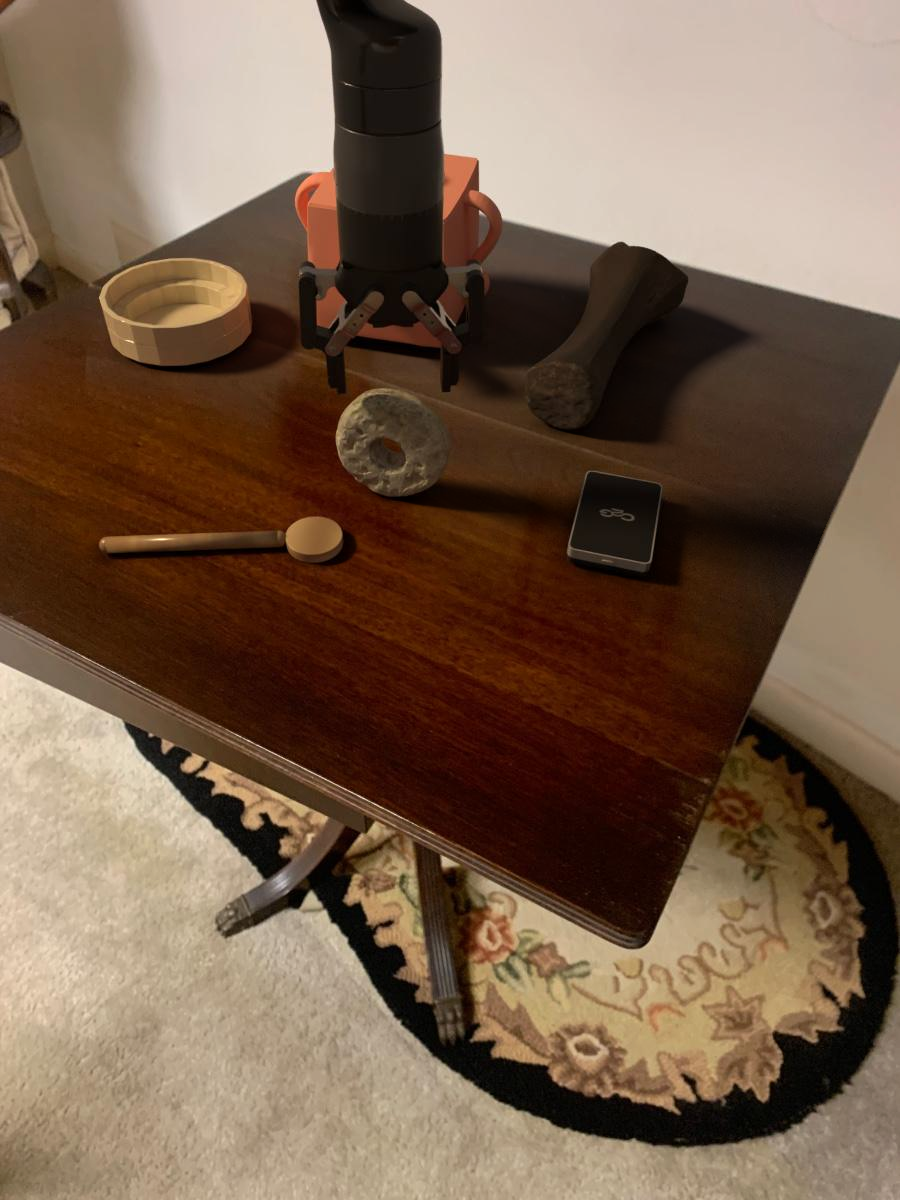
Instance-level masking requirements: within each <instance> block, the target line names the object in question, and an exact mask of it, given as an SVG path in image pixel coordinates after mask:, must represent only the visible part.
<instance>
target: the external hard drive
mask: <svg viewBox="0 0 900 1200" xmlns="http://www.w3.org/2000/svg"><path fill="white" fill-rule="evenodd" d="M662 494H663V485H662V484H661V483H659V482H656V481H651V480H646V479H640V478H635V477H629V476H624V475H618V474H615V473H614V474H613V473H608V472H604V471H603V472H602V471H597V470H588V471H587V472H586V473H585V475H584V479H583V483H582V487H581V491H580V495H579V500H578V503H577V508H576V511H575V515H574V519H573V524H572V528H571V531H570V535H569V538H568V543H567V549H566V560H567V561H568V562H569V563H571V564H576V565H581V566H586V567H591V568H596V569H601V570H606V571H610V572H615V573H621V574H626V575H631V576H635V577H640V578H641V577H644V576H647V575H648V573H649V571H650V567H651V564H652V561H653V554H654V548H655V541H656V534H657V528H658V521H659V515H660V509H661V501H662V496H663V495H662Z"/></svg>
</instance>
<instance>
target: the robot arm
mask: <svg viewBox="0 0 900 1200" xmlns="http://www.w3.org/2000/svg"><path fill="white" fill-rule="evenodd" d="M315 2H316V6H317V8H318V12H319V15H320V16H319V17H320V20H321V22H322V24H323V28H324V31H325V34H326V38H327V41H328V45H329V51H330V66H331V67H330V68H331V86H332V87H331V88H332V99H333V101H332V103H333V114H334V119H333V120H334V133H333V146H332V148H333V149H332V150H333V151H332V153H333V154H332V155H333V156H332V157H333V168H334V181H335V192H336V207H337V222H338V237H339V252H340V260H339V263H338V266H337V267H336V269H319V268H316V267H315V265H314V264H313V263H312V262H309V261H308V260H307V261H303V262H302V263H301V264H300V265H299V271H298V272H299V273H298V297H299V298H298V303H299V304H298V305H299V329H300V345H301V347H302V348H303V349H304V350H306V351H307V350H308V351H309V350H310V351H311V350H314V349H316V350H319V351H321V352H323V354H324V355H325V362H326V373H327V384H328V385H329V387H330V389H336V390H337V391H336V392H337V395H338V396H344V395H347V375H346V363H345V362H346V360H345V347H347V345H348V343H349V342H350V341H351V339H355V338H356V337H357V336H356V335H357V334H358V333H359V331H360V330H361V329H362V327H363V326H364V325H365V324H366V323H368V324H371V325H373V328H383V327H387V326H391V325H396V326H400V327H413V324H415V323H418V322H419V321H420V322H421V323H422V324H423V325H424V326H425V328H426V329H427V330H428V331H429V332H430V334H431V335H432V336H433V337H436V338H437V339H438V340H439V341H440V343H441V348H440V363H439V364H440V365H439V366H440V367H439V369H440V371H439V380H440V382H439V383H440V388H441V389H440V390H441V393H451V391H452V390H451V389H452V386H457V385H458V383H459V381H460V363H461V353H462V351H463V350H464V349H465V348H467V347H469V346H473V347H480V346H482V345H483V344H484V343H485V340H486V339H485V337H486V332H485V330H486V329H485V328H486V327H485V326H486V325H485V323H486V321H485V320H486V319H485V318H486V317H485V313H486V312H485V310H486V309H485V307H486V306H485V295H484V277H483V272H482V271H483V269H482V264H480V262H479V261H478V260H475V259H472V260H469V261H468V262H467V263H466V265H465V266H460V267H446V266H445V264H444V262H443V260H442V248H443V201H444V154H445V146H444V138H443V128H442V127H443V126H442V125H443V124H442V122H443V121H442V106H443V105H442V102H443V101H442V98H443V97H442V96H443V95H442V93H443V37H442V33H441V29H440V27H439V24H438V23H437V22H436V20H435V19H434V18H433V17H432V16H430V15H429V14H428V13H426V12H425V11H423V10H421V9H420V8H418V7H416V6H414V5H412V4H411V3H409V2H408V1H406V0H315ZM448 285H453V286H454V287H455V288H456V289H457V293H458V295H459V296H460V297H463V298H466V304H465V321H466V322H463V323H460V324H458V325H457V324H456V325H455V323H454V322H453V321H452V320H451V318H450V317H449V316H448V315H447V313H446V312H445V310H444V308H443V306H442V305H441V304H440V302H439V301H438V299H439V298H440V296H441V295H442V294H443V293H444V291H445V290H446V288H447V286H448ZM331 287H336V289H337V291H338V292H339V293H340V294H341V295H342V297H343V298H344V299H345V300H346V301H345V302H344V304H343V305H342V306H341V308H340V310H339V313H338V315H337V316H336V318H335V319H334V320H333V322H332V323H331V324H330V326H329V327H328V328H325V327H322V326H318V325H317V300H318V301H319V300H322V299H324V298H325V297H326V294H327V291H328V289H329V288H331Z"/></svg>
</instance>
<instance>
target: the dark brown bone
mask: <svg viewBox="0 0 900 1200" xmlns="http://www.w3.org/2000/svg"><path fill="white" fill-rule="evenodd" d="M591 263H592V264H591V265H590V270H589V291H588V298H587V301H586V305H585V309H584V311H583V313H582V316H581V319H580V321H579V322H578V324H577V325H576V327H575V329H574V330H573V331H572V333H571V334H570V335H569V336H568V338H567V339H566V340H565V341H564V342H563V344H561V345H560V346H559V347H558V348H557V349H555V350H554V351H553V352H552V353H550V354H548V355H547V356H546V357H545V358H543V359H541V360H540V361H538V362H537V363H535V364H534V365H533V366H532V367H530V368H529V369H527V371H526V381H525V388H524V394H525V395H524V396H525V401H526V404H527V407H528V409H529V411H530V412H531V413H532V415H534V416H535V417H536V418H537V419H539V420H541V421H542V422H544V423H547V424H548V425H550V426H552V427H554V428H556V429H559V430H564V431H571V430H579V429H581V428H583V427H585V426H586V425H588V424H589V423H590V422H591V421H592V420H593V419H594V417H595V415H596V413H597V411H598V410H599V408H600V407H601V403H602V399H603V397H604V393H605V391H606V388H607V385H608V383H609V379H610V377H611V375H612V372H613V370H614V368H615V366H616V363H617V361H618V359H619V358H620V356H621V354H622V352H623V351H624V349H625V348H626V346H627V345H628V343H629V342H630V340H631V339H632V338H633V337H634V336H635V335H636V333H638V331H639V330H640V329H642V328H643V327H646V326H648V325H650V324H652V323H654V322H656V321H658V320H660V319H662V318H663V317H665V316H666V315H669V314H670V313H672V312H673V311H675V310H676V309H677V308H678V307H679V306H680V305H681V304H682V303H683V301H684V299H685V293H686V289H687V286H688V284H689V276H688V275H687V274H686V273H685V272H684V271H683V270H681V268H679V267H678V266H676V265H675V264H674V263H672V261H670V260H669V259H668V258H667V257H666V256H665V255H663V254H661V253H659V252H657V251H656V250H654V249H651V248H649V247H645V246H640V245H629V244H627V243H626V242H624V241H616V242H615V243H613V244H611V246H609V247H607V248H606V249H605V250H604V251H603V252H601V254H600V255H598V256H597V258H595V259H594V260H593V262H591Z"/></svg>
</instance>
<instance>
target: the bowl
mask: <svg viewBox="0 0 900 1200" xmlns="http://www.w3.org/2000/svg"><path fill="white" fill-rule="evenodd" d="M248 288H249V287H248V283H247V282H246V280H245V278H244V277H243V275H242V274H241V273H240V272H238V271H237V270H235V269H234V268H233V267H231V266H229V265H226V264H223V263H221V262H218V261H215V260H210V259H209V260H208V259H202V258H195V257H179V258H178V257H175V258H174V257H173V258H172V257H171V258H165V259H158V260H157V259H156V260H151V261H147V262H144V263H141V264H137V265H134V266H131V267H129V268H127V269H124V270H123V271H121V272H119V273H118V274H115V275H114V276H113V277H111V278H110V280H108V281H107V282H106V283H105V284H104V285H103V287H102V289H101V292H100V294H99V297H98V299H99V303H100V307H101V311H102V313H103V318H104V321H105V324H106V328H107V332H108V335H109V339H110V343H111V346H112V347H113V348H114V349H115V350H117V352H119V353H120V354H121V355H122V356H124V357H126V358H128V359H131V360H133V361H135V362H138V363H141V364H142V363H143V364H148V365H154V366H155V365H156V366H160V367H171V366H172V367H173V366H174V367H175V366H176V367H177V366H182V367H183V366H189V365H195V364H201V363H206V362H210V361H213V360H215V359H217V358H220V357H223V356H225V355H228V354H230V353H232V352H233V351H234V350H236V349H237V348H238V347H240V346H242V345H243V344H244V343H245V341H246V340H247V339H248V337H249V336H250V334H251V333H252V329H253V328H252V326H253V316H252V309H251V303H250V295H249V289H248Z"/></svg>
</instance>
